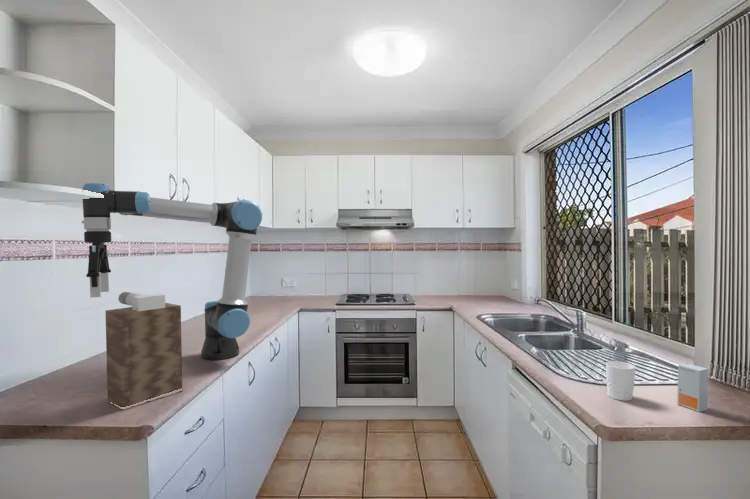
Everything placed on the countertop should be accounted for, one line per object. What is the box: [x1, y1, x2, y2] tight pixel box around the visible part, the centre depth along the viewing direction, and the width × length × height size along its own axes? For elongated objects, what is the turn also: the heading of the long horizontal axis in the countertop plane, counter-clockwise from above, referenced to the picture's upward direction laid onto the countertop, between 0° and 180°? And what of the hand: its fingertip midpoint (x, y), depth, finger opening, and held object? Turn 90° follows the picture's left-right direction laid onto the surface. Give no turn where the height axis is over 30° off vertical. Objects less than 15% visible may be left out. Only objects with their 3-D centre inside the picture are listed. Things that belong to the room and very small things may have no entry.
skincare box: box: [676, 362, 710, 413], centre depth 123 cm, size 6×4×12 cm
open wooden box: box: [105, 302, 183, 407], centre depth 132 cm, size 18×10×28 cm, turn 144°
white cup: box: [605, 360, 636, 402], centre depth 131 cm, size 8×8×10 cm
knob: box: [118, 291, 166, 311], centre depth 134 cm, size 18×8×4 cm, turn 54°
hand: (100, 294), depth 141 cm, fingers open, 13 cm apart
